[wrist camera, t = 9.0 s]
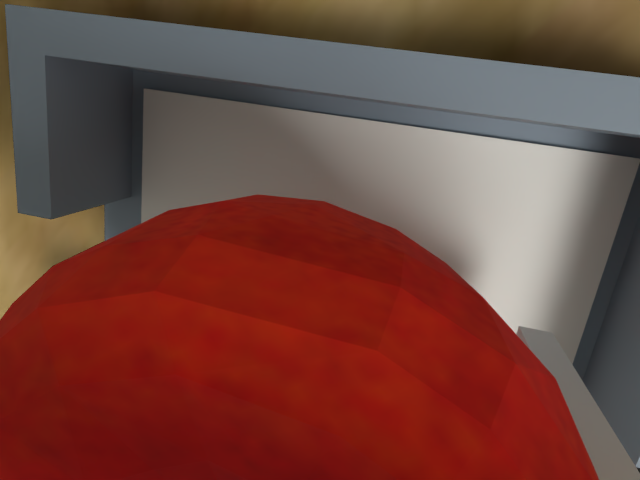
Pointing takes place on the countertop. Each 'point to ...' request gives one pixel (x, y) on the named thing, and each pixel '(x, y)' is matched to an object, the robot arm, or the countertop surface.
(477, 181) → the grey tray
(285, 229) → the apple
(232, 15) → the countertop surface
